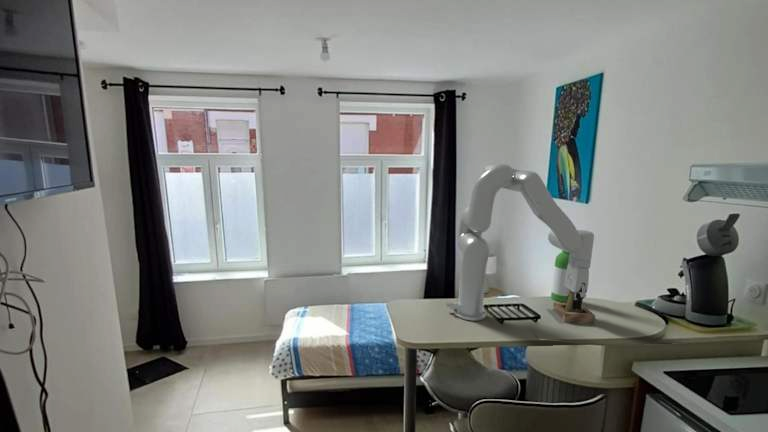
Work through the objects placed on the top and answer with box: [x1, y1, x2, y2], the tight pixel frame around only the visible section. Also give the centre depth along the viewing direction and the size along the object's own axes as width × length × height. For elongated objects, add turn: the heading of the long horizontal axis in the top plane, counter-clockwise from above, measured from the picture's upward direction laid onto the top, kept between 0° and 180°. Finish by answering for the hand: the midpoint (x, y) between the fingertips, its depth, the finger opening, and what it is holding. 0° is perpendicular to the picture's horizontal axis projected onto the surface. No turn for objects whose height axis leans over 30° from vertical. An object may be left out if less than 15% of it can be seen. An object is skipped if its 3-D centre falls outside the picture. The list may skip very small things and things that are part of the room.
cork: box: [565, 290, 582, 313], centre depth 142 cm, size 6×6×11 cm
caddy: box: [552, 302, 596, 324], centre depth 143 cm, size 11×11×4 cm
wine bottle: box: [550, 249, 570, 303], centre depth 160 cm, size 8×8×30 cm
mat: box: [545, 308, 597, 327], centre depth 144 cm, size 14×13×1 cm
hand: (573, 306), depth 143 cm, fingers closed on cork, 4 cm apart
